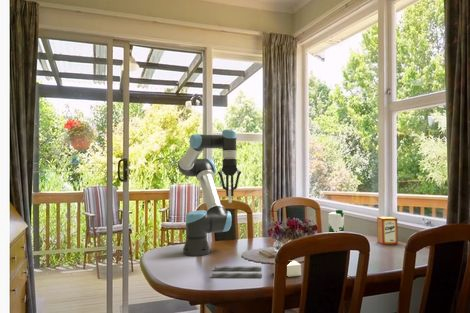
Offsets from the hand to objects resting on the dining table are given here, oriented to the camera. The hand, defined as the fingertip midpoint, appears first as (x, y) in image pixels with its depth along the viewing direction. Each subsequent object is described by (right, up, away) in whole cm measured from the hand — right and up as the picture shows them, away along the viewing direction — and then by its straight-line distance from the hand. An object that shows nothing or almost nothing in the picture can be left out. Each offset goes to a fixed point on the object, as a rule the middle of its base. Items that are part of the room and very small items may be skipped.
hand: (229, 202), depth 193 cm
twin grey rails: (+4, -29, -29) cm, 41 cm away
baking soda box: (+97, -29, +29) cm, 105 cm away
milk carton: (+67, -30, +36) cm, 82 cm away
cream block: (+27, -29, -30) cm, 50 cm away
